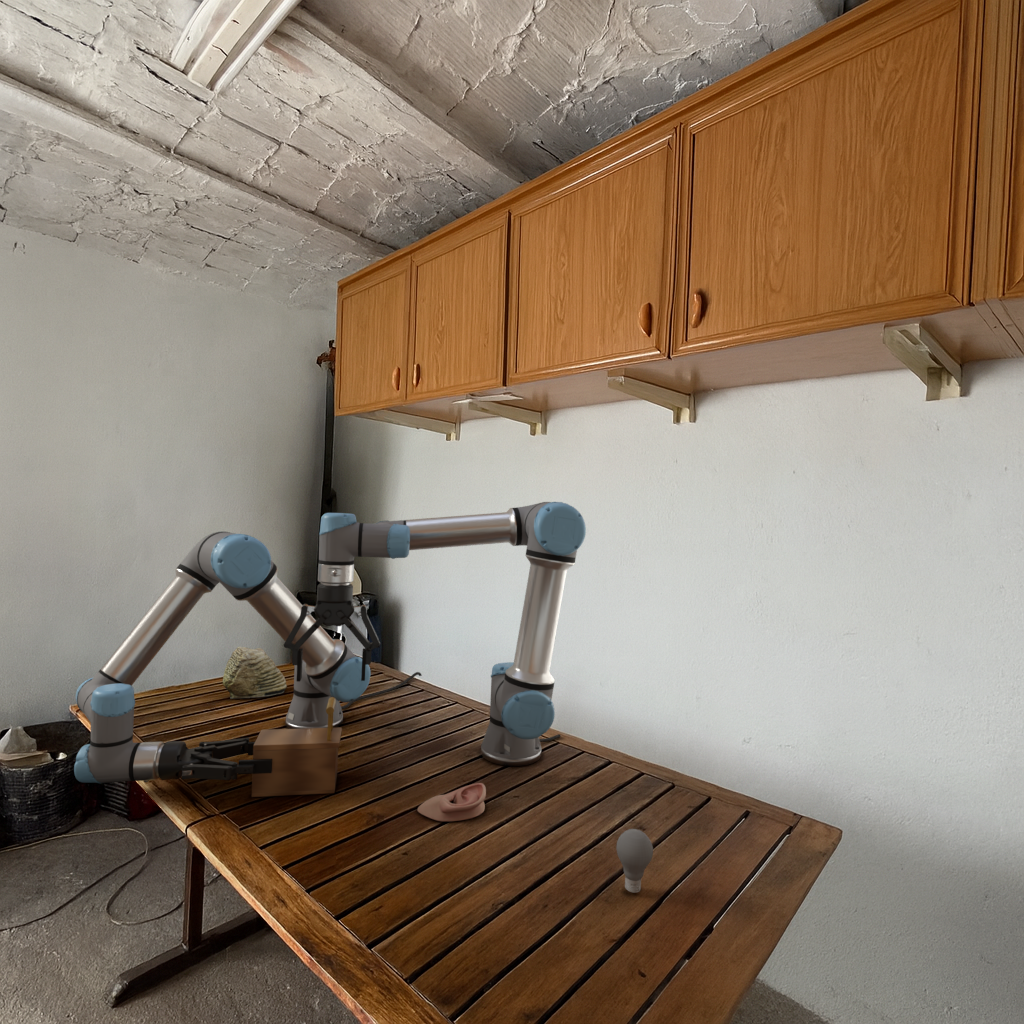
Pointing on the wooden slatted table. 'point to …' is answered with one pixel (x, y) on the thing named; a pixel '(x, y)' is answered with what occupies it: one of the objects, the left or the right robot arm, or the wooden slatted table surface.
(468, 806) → the anatomical model
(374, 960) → the wooden slatted table surface
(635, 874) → the light bulb
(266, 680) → the fossil
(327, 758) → the chest
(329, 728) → the lid
